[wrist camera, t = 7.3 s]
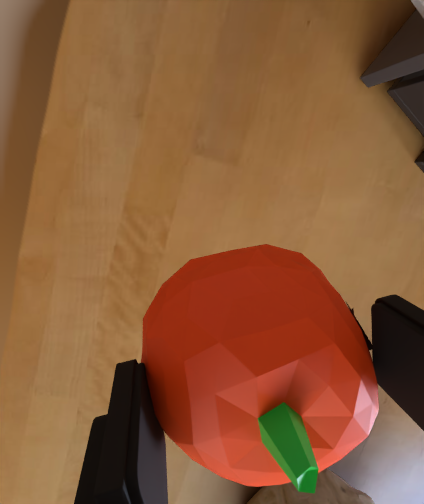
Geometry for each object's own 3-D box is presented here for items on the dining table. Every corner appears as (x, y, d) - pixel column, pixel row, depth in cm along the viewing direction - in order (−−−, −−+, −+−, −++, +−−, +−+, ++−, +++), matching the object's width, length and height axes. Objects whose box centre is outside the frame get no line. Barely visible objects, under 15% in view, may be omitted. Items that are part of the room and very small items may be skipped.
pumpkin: (242, 185, 12) (336, 221, 5) (357, 328, 14) (508, 463, 8) (94, 315, 12) (27, 481, 6) (230, 431, 15) (280, 631, 8)
